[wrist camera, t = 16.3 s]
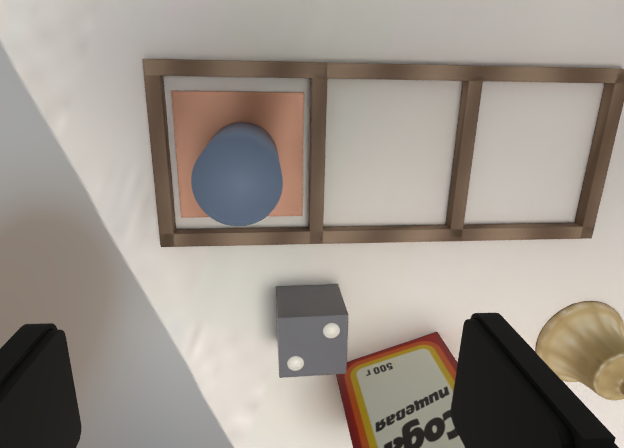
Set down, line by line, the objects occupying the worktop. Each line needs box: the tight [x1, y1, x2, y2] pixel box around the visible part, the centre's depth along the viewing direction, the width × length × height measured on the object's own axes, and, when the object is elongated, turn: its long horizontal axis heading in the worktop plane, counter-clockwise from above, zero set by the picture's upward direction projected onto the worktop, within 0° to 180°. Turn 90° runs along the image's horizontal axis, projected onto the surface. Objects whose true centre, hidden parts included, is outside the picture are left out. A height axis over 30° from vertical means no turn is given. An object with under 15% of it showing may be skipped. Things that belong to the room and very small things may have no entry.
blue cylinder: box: [191, 122, 283, 226], centre depth 29 cm, size 5×5×8 cm
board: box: [142, 59, 624, 247], centre depth 33 cm, size 34×13×1 cm, turn 89°
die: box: [276, 284, 348, 378], centre depth 35 cm, size 5×5×5 cm
